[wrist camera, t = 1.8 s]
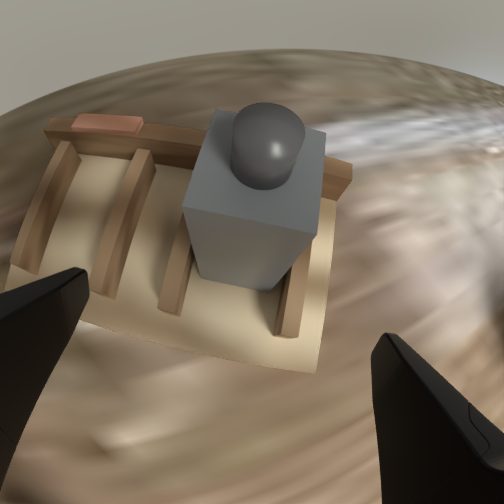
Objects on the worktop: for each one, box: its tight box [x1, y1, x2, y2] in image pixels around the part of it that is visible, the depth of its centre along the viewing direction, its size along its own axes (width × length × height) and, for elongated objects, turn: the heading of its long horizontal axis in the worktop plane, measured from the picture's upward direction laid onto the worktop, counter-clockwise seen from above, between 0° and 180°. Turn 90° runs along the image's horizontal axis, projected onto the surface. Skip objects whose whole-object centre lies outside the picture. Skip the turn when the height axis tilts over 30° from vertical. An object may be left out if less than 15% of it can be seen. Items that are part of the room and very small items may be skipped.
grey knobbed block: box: [182, 103, 326, 293], centre depth 15 cm, size 4×4×12 cm
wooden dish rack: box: [4, 113, 352, 373], centre depth 19 cm, size 14×24×5 cm, turn 79°
